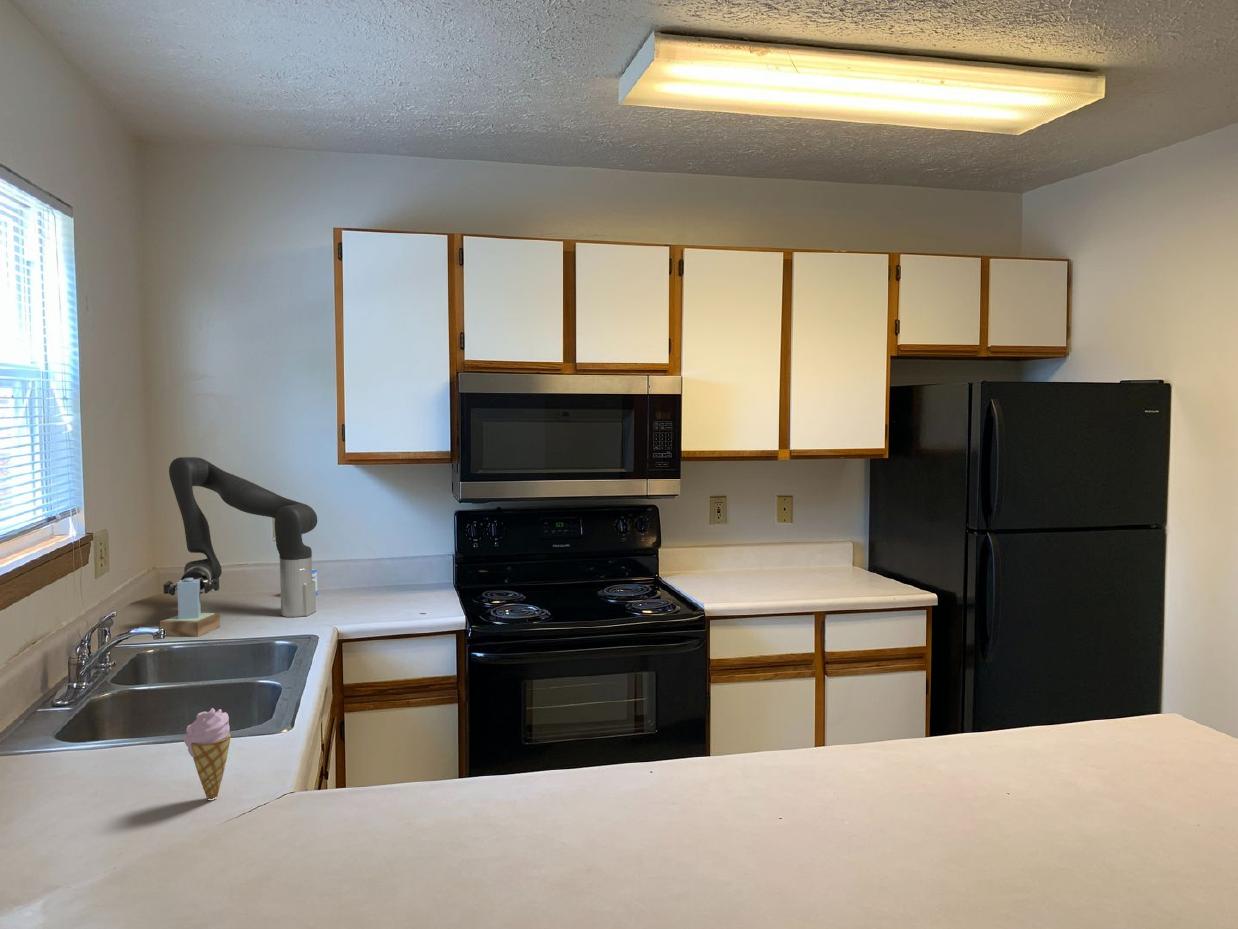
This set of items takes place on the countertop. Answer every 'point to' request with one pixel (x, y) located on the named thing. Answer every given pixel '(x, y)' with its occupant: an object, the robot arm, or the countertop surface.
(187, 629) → the walnut base block
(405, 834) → the countertop surface
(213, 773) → the ice cream cone
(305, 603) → the robot arm
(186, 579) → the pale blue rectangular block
